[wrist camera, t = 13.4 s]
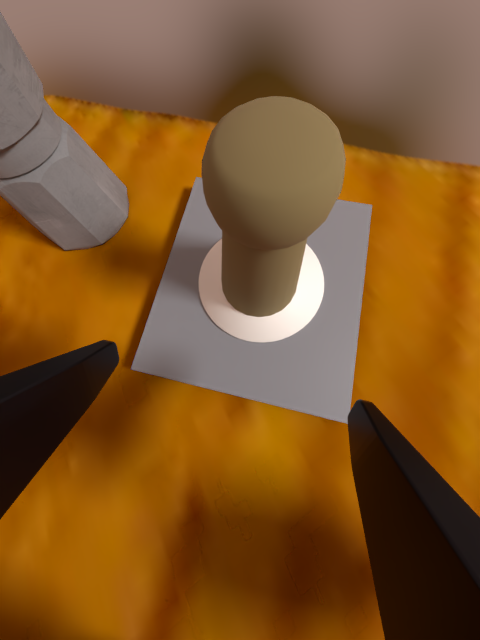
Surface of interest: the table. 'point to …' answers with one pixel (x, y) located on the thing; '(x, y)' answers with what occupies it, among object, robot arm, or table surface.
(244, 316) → the serving board
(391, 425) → the robot arm
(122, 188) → the coffeepot
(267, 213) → the cork
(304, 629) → the table surface
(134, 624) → the table surface
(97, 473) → the table surface
